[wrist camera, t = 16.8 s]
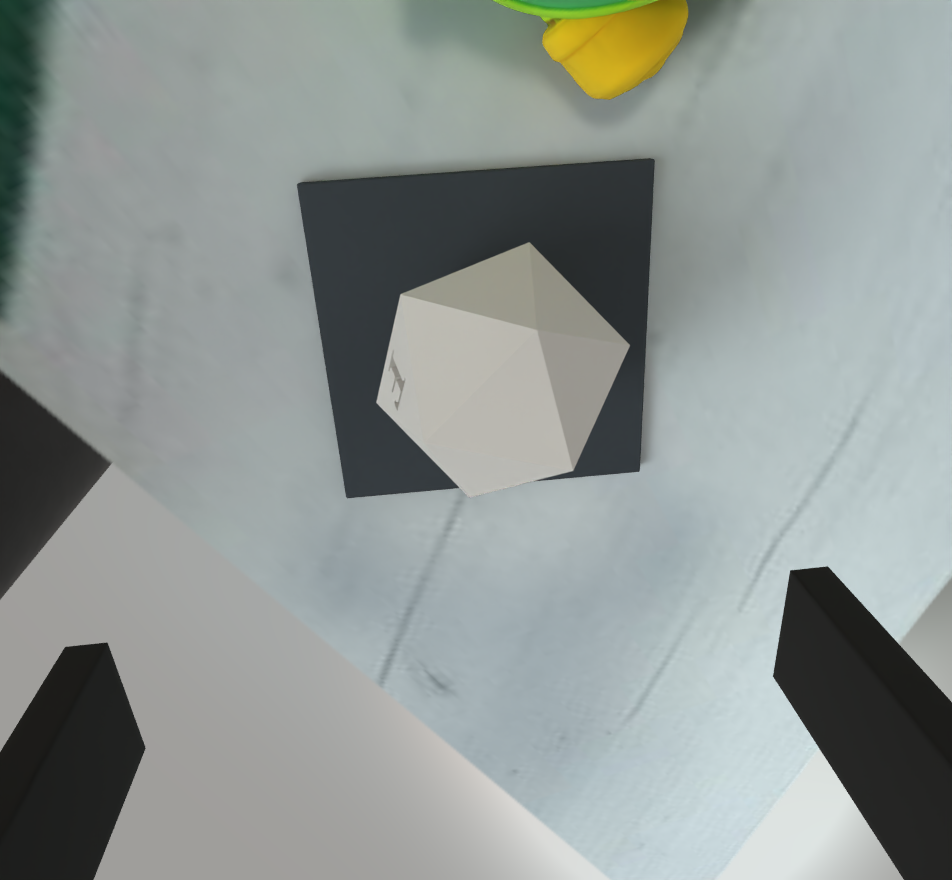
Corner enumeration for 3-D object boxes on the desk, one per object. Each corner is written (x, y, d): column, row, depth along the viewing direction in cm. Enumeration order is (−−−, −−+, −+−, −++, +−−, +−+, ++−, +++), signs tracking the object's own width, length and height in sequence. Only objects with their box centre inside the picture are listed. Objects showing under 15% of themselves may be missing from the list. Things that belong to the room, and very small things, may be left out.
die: (496, 183, 29) (334, 270, 22) (694, 292, 27) (584, 426, 20) (448, 345, 35) (308, 455, 28) (607, 444, 33) (499, 588, 26)
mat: (347, 493, 34) (346, 498, 34) (298, 182, 28) (296, 183, 27) (637, 467, 35) (639, 471, 34) (651, 158, 29) (654, 159, 28)
